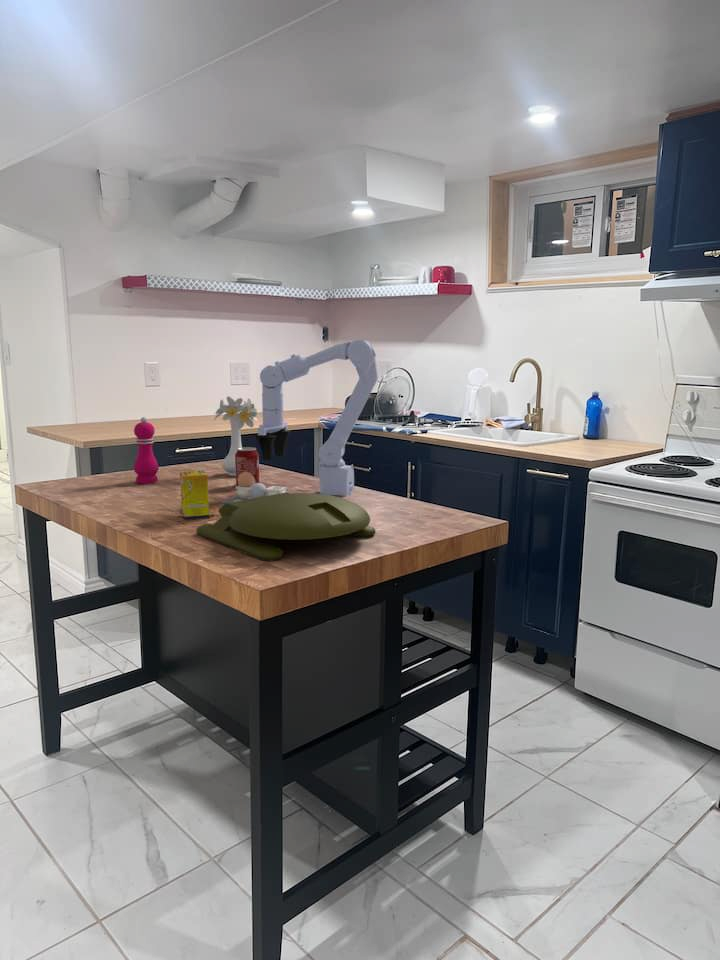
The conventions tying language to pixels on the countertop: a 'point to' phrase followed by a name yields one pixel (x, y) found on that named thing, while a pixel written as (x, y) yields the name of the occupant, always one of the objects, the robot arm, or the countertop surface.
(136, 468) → the pepper mill
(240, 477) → the terracotta ball
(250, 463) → the soda can
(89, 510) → the countertop surface
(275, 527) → the spaceship
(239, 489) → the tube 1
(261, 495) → the grey ball
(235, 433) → the flower vase
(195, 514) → the supplement box
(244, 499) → the slate board
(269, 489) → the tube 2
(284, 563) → the countertop surface
